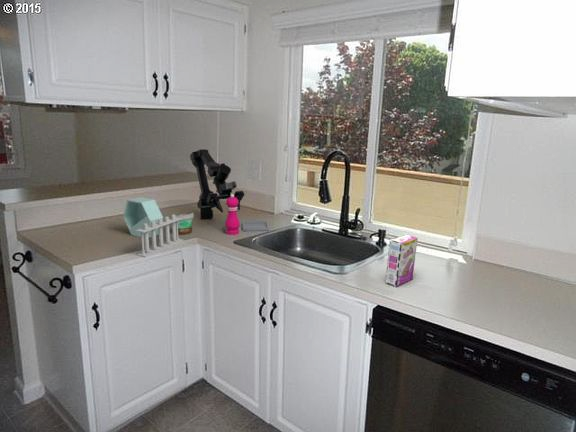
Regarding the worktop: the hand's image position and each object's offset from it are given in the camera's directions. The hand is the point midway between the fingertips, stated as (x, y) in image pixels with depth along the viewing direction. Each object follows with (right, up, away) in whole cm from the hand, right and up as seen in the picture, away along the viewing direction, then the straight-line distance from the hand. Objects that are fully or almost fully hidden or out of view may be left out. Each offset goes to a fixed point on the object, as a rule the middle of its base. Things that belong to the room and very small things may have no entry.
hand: (231, 211), depth 195 cm
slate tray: (+11, -9, +12) cm, 19 cm away
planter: (-41, -12, -5) cm, 43 cm away
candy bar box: (+69, -27, -53) cm, 91 cm away
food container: (-23, -11, -1) cm, 25 cm away
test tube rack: (-27, -17, -23) cm, 39 cm away
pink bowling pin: (+1, -11, +2) cm, 11 cm away
